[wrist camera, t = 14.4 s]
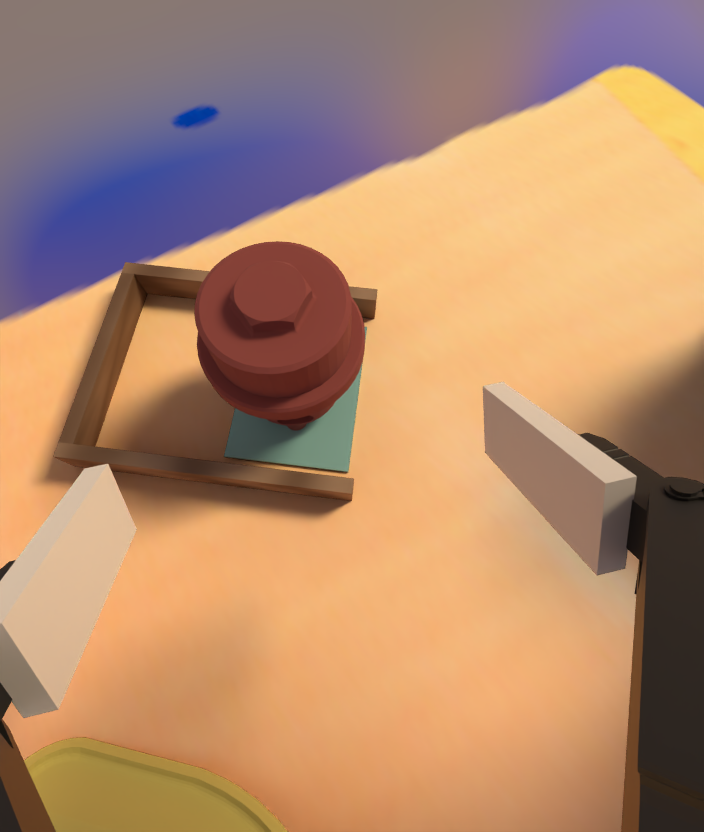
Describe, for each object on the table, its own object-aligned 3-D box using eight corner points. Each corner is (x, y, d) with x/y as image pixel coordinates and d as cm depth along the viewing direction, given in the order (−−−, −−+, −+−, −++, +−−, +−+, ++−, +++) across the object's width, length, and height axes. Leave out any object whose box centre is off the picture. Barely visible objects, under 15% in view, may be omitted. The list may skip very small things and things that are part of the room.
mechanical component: (205, 377, 35) (312, 311, 37) (276, 480, 32) (388, 403, 34) (135, 272, 24) (296, 186, 26) (236, 418, 21) (408, 308, 23)
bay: (375, 308, 38) (377, 289, 35) (351, 500, 32) (352, 493, 30) (138, 282, 38) (125, 262, 36) (74, 466, 33) (53, 456, 30)
